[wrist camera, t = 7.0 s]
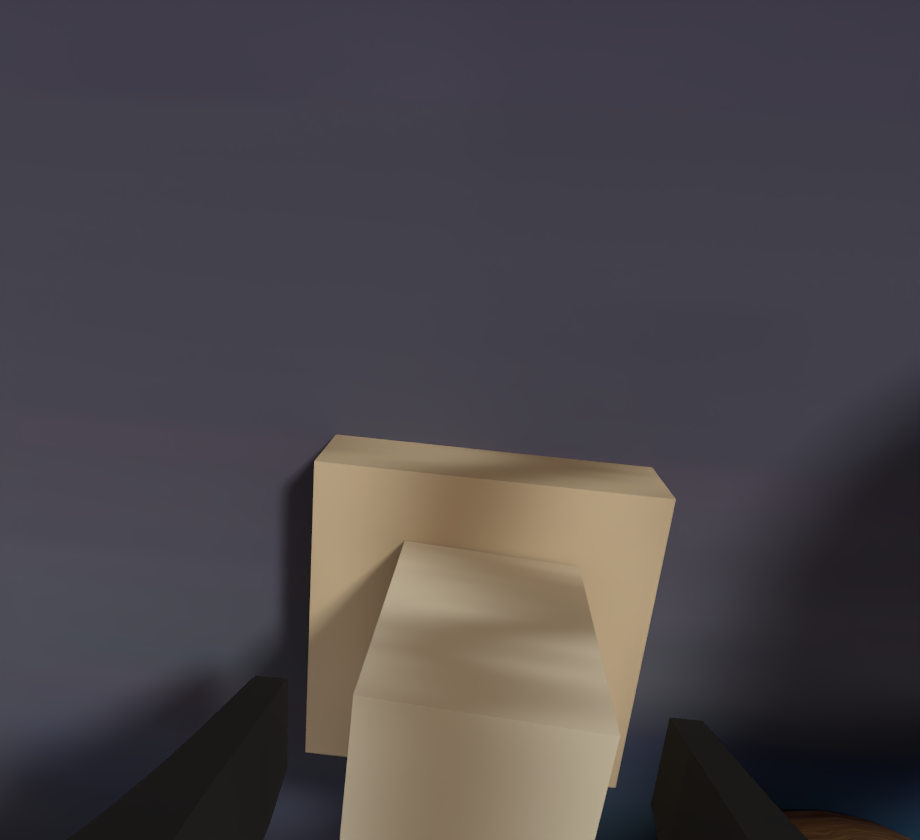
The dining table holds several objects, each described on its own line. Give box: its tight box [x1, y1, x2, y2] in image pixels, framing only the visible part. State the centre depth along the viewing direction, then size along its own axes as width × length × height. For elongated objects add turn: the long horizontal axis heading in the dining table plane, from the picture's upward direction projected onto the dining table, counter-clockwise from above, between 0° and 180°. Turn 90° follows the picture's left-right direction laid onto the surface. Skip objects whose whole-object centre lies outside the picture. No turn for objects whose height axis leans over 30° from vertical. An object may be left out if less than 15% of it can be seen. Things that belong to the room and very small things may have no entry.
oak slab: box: [305, 435, 676, 788], centre depth 16 cm, size 8×8×2 cm
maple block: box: [340, 541, 620, 840], centre depth 12 cm, size 4×4×5 cm
